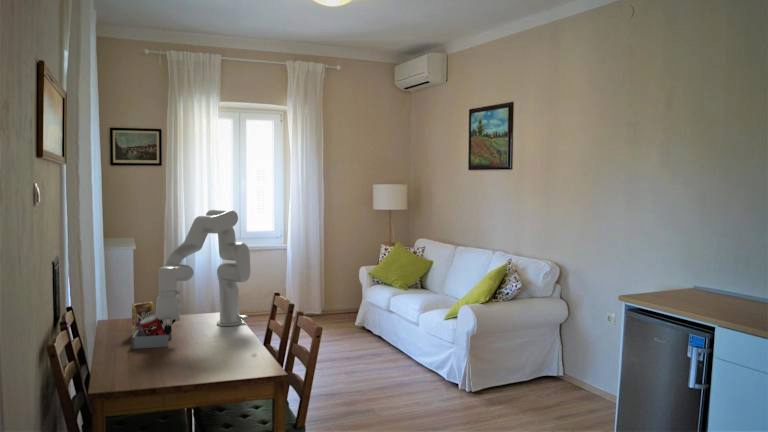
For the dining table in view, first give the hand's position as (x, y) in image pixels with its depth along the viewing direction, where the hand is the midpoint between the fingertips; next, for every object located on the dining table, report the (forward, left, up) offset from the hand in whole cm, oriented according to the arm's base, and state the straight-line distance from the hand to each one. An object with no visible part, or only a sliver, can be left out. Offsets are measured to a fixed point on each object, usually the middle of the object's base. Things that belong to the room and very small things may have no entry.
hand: (167, 334), depth 266 cm
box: (+7, -1, -4) cm, 8 cm away
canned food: (+4, 0, -3) cm, 5 cm away
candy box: (+13, -19, -4) cm, 23 cm away
